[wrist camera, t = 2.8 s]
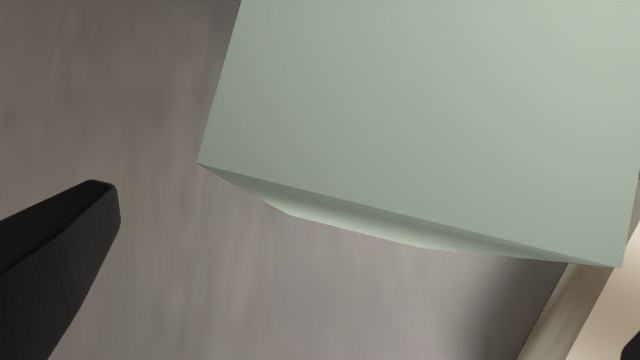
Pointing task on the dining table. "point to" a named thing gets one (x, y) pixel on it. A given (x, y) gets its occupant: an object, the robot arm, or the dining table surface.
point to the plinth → (591, 308)
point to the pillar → (439, 121)
